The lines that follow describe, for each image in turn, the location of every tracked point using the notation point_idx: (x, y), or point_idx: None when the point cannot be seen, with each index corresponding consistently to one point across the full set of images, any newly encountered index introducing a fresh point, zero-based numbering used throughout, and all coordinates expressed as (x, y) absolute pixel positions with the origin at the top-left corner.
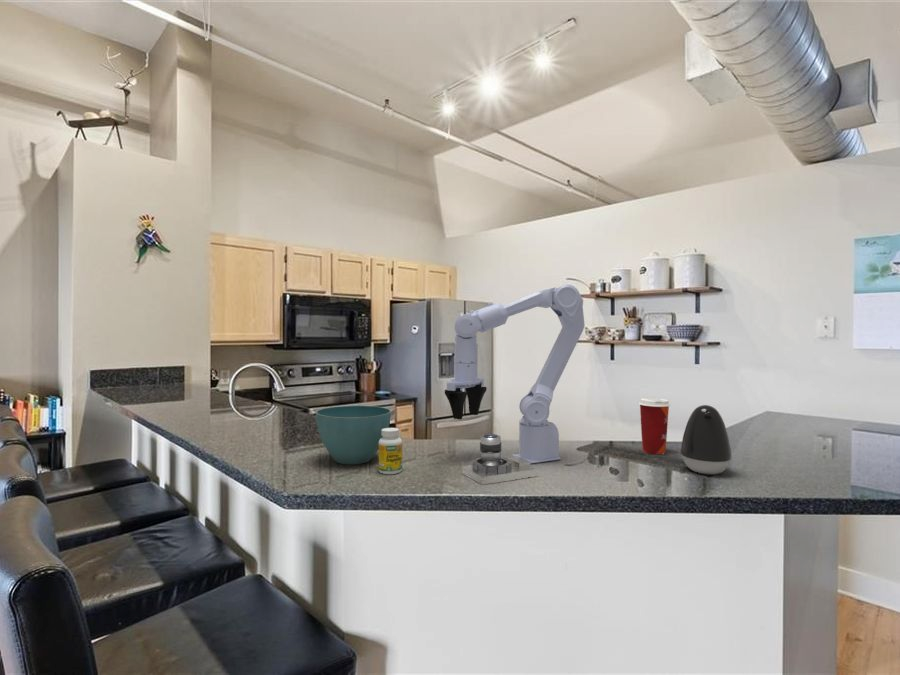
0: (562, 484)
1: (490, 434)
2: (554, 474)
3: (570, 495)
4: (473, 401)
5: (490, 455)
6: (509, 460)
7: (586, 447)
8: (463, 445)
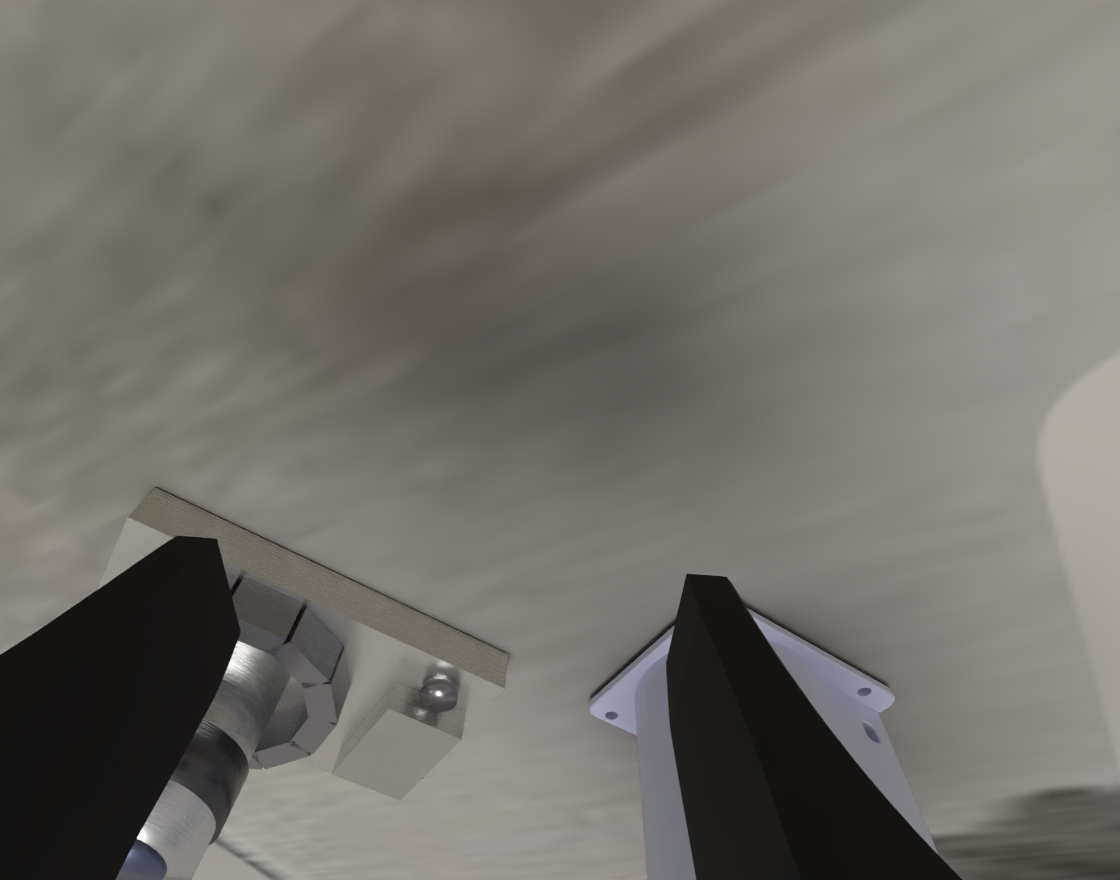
0: (365, 836)
1: (132, 860)
2: (481, 798)
3: (265, 866)
4: (731, 840)
5: None
6: (306, 750)
7: (1111, 814)
8: (1009, 61)
